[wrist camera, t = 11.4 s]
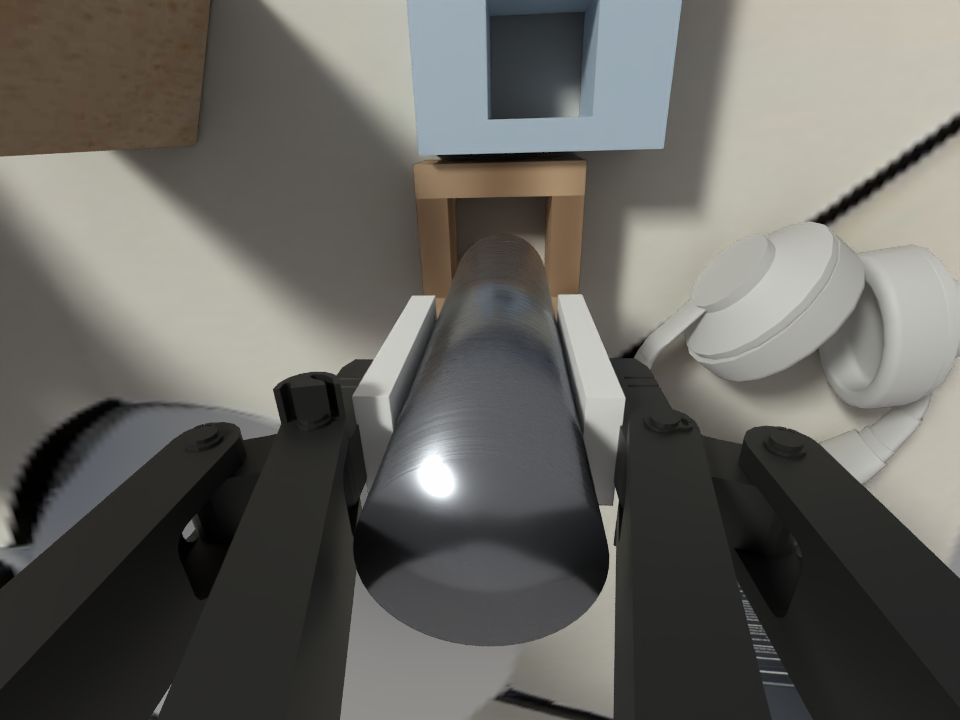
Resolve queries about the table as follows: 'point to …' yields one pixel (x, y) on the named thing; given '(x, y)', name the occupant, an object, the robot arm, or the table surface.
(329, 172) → the table surface
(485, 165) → the rack
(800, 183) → the table surface
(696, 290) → the headphones
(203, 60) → the wooden block
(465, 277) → the cylinder
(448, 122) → the socket block
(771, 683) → the small box
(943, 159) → the table surface
